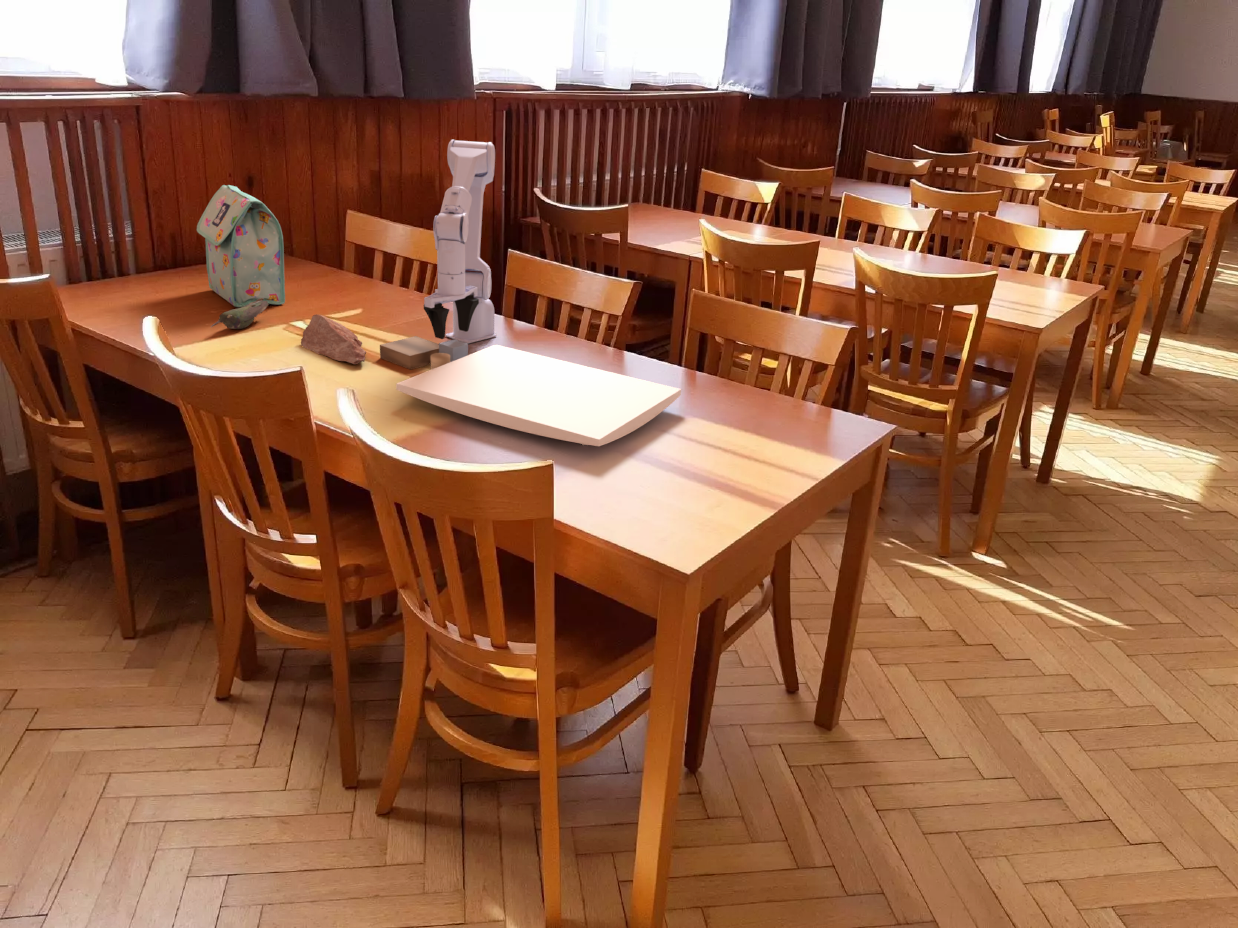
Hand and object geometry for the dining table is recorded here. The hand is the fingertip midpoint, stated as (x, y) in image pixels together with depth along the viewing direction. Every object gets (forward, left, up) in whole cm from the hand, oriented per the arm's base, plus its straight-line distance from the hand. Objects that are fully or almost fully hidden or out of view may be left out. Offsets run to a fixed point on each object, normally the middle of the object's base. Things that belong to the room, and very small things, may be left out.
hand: (451, 334), depth 211 cm
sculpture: (+20, -50, -7) cm, 54 cm away
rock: (+12, -21, -7) cm, 25 cm away
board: (+5, +32, -7) cm, 33 cm away
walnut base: (+5, -7, -6) cm, 11 cm away
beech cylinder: (+9, +6, -6) cm, 13 cm away
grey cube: (0, 0, -6) cm, 6 cm away
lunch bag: (+5, -72, -7) cm, 73 cm away
